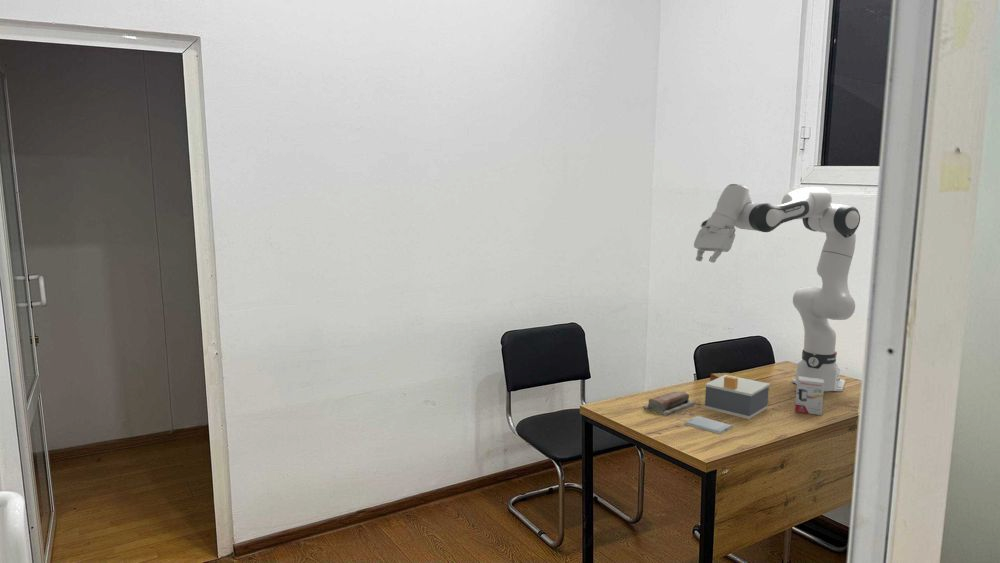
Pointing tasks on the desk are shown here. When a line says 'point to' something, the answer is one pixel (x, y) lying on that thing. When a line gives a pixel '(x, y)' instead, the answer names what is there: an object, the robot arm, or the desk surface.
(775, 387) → the desk surface
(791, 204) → the robot arm
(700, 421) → the hard drive
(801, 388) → the ink box
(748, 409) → the charcoal box
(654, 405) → the packaged product
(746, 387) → the lid flap
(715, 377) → the carton
